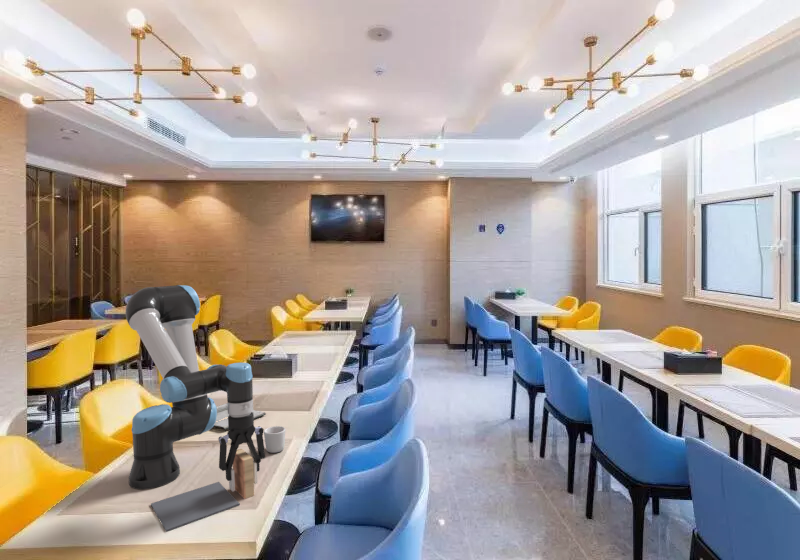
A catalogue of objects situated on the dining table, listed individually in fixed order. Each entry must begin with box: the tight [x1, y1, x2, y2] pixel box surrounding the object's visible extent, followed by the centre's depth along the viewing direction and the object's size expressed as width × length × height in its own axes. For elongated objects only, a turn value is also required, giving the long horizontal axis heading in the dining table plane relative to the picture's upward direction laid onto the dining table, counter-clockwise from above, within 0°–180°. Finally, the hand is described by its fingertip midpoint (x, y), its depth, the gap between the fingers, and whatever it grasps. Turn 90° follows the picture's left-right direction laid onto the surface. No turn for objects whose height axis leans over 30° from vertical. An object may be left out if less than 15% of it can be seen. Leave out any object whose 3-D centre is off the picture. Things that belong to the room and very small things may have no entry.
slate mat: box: [150, 481, 241, 533], centre depth 139 cm, size 18×20×1 cm
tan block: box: [232, 448, 255, 500], centre depth 146 cm, size 9×3×12 cm, turn 40°
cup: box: [263, 425, 286, 454], centre depth 178 cm, size 11×8×8 cm
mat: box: [213, 402, 267, 432], centre depth 212 cm, size 23×24×5 cm
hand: (243, 485), depth 146 cm, fingers open, 6 cm apart
